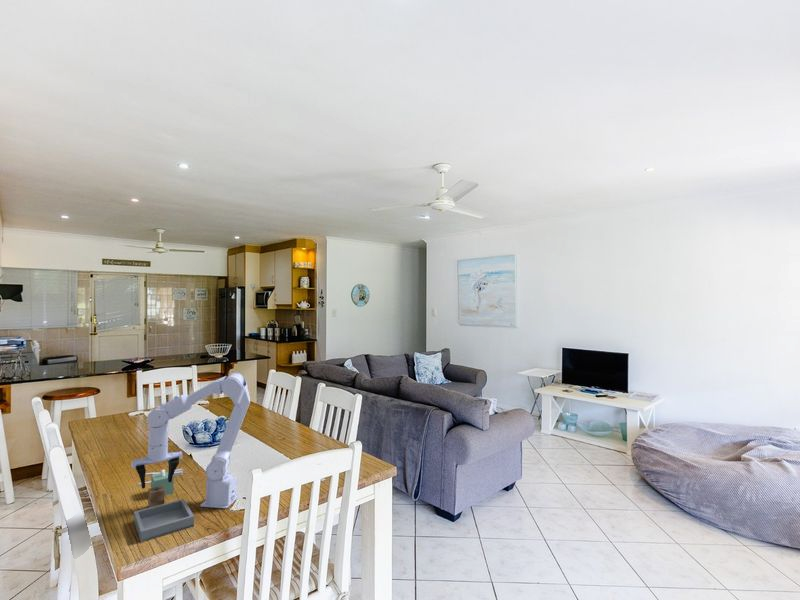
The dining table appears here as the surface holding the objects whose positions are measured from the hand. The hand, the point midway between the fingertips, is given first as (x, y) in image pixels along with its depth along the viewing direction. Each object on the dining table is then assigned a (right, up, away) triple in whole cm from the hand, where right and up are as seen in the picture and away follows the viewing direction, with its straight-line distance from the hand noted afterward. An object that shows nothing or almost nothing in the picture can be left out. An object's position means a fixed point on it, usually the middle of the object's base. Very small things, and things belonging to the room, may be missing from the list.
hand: (156, 484), depth 136 cm
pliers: (-12, -8, +23) cm, 27 cm away
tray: (+8, -8, -10) cm, 15 cm away
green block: (-4, -8, +10) cm, 14 cm away
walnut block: (0, -8, 0) cm, 8 cm away
